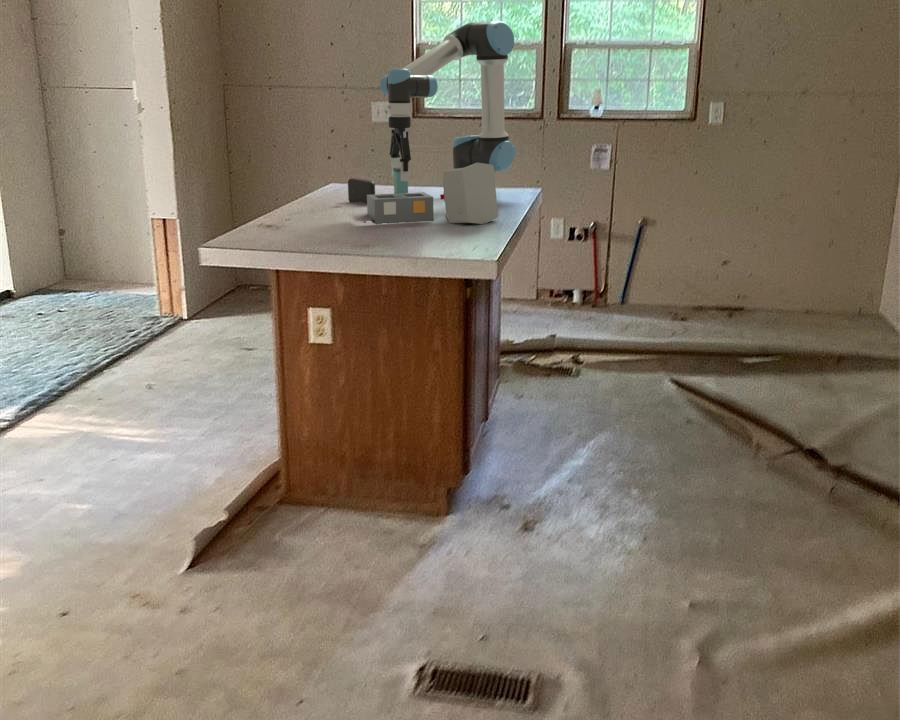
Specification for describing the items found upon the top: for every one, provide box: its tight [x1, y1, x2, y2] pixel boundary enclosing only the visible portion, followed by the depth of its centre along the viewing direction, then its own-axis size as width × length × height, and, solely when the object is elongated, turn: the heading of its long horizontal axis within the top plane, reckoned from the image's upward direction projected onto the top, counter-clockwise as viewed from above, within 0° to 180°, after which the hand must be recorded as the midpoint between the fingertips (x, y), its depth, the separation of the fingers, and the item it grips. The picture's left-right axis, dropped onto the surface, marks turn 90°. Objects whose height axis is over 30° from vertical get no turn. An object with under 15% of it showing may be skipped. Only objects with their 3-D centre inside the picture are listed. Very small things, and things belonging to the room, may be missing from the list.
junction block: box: [366, 191, 434, 225], centre depth 301 cm, size 20×12×8 cm, turn 107°
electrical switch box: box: [439, 163, 499, 225], centre depth 297 cm, size 14×15×20 cm
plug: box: [393, 167, 409, 194], centre depth 313 cm, size 4×4×14 cm
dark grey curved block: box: [347, 177, 376, 204], centre depth 331 cm, size 16×5×9 cm, turn 39°
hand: (400, 178), depth 312 cm, fingers open, 13 cm apart
